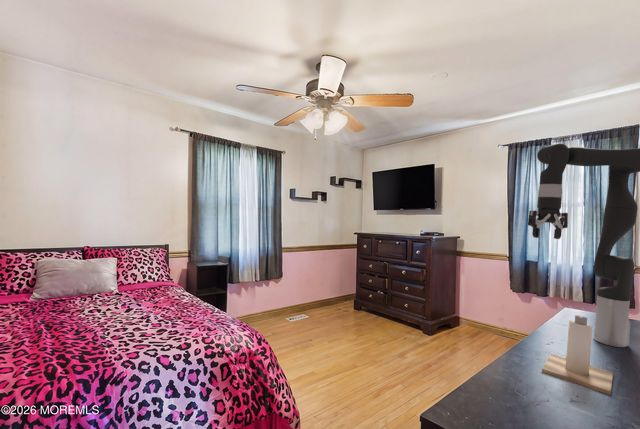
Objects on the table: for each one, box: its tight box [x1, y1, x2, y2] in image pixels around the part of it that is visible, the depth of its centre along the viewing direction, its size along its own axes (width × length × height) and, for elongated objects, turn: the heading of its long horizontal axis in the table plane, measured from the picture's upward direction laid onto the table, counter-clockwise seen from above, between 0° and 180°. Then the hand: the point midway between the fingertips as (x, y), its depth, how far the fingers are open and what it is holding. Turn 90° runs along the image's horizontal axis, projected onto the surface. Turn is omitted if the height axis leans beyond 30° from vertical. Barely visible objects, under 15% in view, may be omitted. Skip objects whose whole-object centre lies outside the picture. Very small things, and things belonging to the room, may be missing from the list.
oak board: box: [541, 353, 614, 396], centre depth 93 cm, size 15×15×1 cm
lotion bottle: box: [565, 314, 594, 375], centre depth 93 cm, size 5×5×16 cm
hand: (546, 238), depth 122 cm, fingers open, 8 cm apart
